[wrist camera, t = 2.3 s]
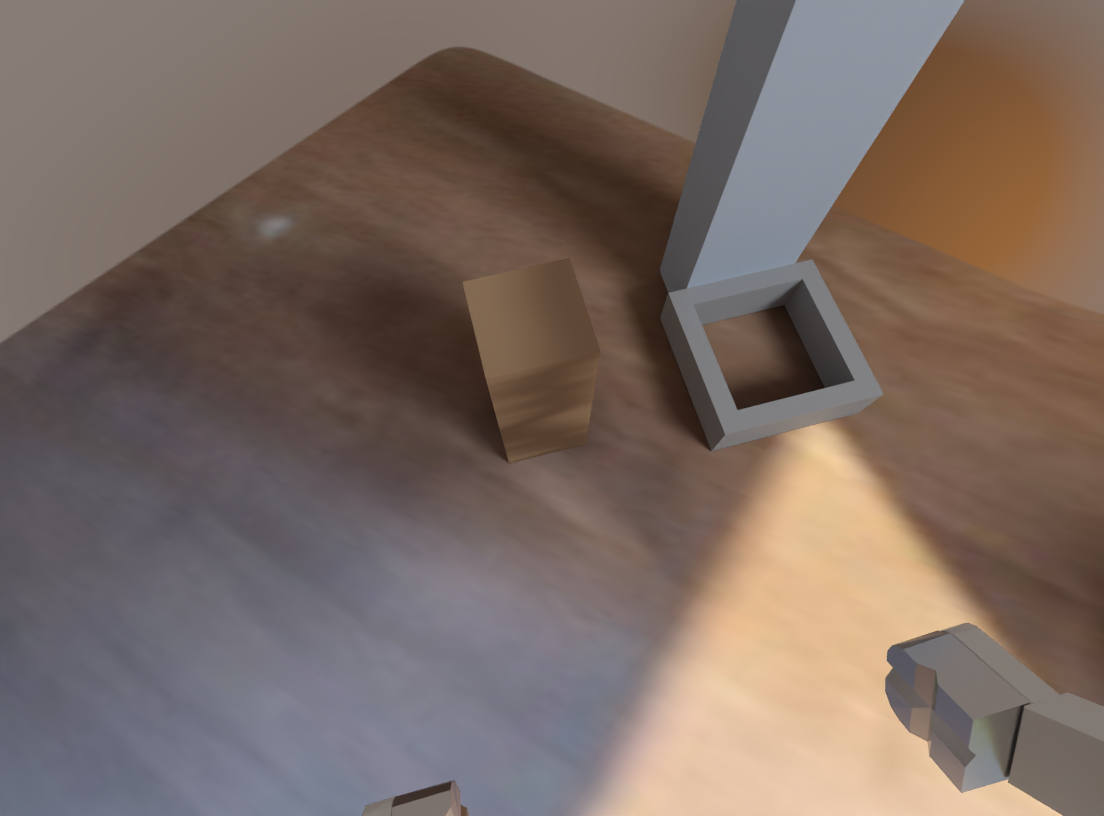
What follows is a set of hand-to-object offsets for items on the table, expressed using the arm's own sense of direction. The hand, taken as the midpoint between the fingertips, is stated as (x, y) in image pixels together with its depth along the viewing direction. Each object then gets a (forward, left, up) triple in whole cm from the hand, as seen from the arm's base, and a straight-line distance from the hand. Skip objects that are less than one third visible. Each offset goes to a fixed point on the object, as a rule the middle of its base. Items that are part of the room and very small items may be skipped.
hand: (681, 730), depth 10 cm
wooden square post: (0, +12, -15) cm, 20 cm away
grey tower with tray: (+12, +14, -15) cm, 24 cm away
